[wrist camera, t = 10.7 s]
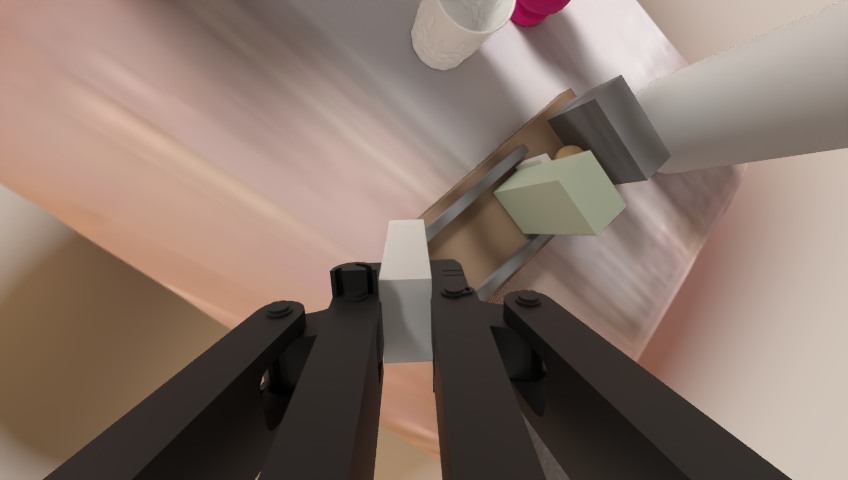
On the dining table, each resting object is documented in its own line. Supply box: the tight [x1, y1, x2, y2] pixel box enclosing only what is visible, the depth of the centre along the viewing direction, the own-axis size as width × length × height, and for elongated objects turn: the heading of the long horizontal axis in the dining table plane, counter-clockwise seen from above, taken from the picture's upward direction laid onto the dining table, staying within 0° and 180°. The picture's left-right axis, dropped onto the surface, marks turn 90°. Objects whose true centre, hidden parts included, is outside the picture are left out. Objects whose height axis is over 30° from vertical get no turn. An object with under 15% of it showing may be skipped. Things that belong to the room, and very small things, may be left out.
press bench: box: [416, 75, 671, 302], centre depth 42 cm, size 28×12×10 cm, turn 131°
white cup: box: [411, 0, 516, 71], centre depth 39 cm, size 8×8×10 cm
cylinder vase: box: [635, 0, 848, 174], centre depth 41 cm, size 12×12×25 cm
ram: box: [493, 150, 627, 236], centre depth 39 cm, size 5×7×12 cm
